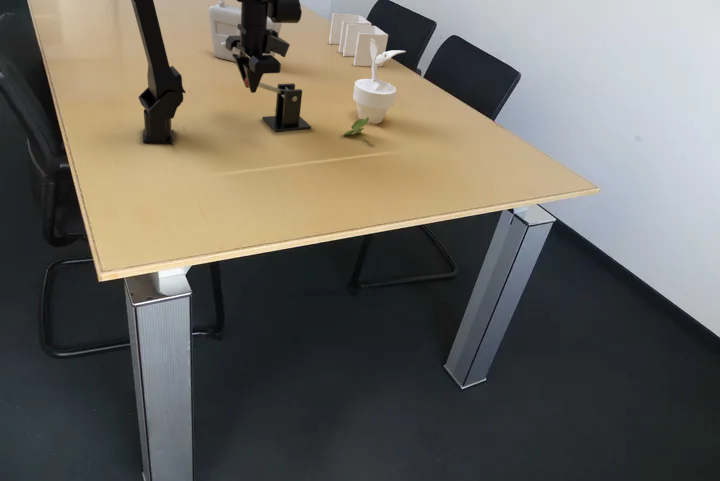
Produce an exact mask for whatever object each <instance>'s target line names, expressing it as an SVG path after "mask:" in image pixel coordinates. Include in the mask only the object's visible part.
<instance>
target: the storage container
mask: <svg viewBox="0 0 720 481" xmlns="http://www.w3.org/2000/svg"><path fill="white" fill-rule="evenodd" d="M329 31H330V32H329V39H328V44H329V45H339V46H338V53H339V54H341V53H342V57H354V58H353V66H354V67H372V63H373V60H372V57H371V53H370V42H371V40H370V39H374V40H375V42H376V44H377V46H378V53H377V56H378V55H380V53H381V52H382V51H383V53H384V52H386V50H387V44H388V41H386V42H385V44H384V47H383V43H382V42H381V40H382V39H383V38H384V35H385V38H386V40H388V39H389V34H388V33H386V32H384V31H383V30H382V29H380V28H379V27H378V26H376V25H372V23H371V22H370V21H369V20H368V19H366V18H364V17H363V16H362V15H360V14H349V13H333V12H332V16H331V25H330V30H329ZM382 49H383V50H382ZM383 66H384V62H383V63H381V64H377V67H383Z"/></svg>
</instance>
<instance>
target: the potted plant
mask: <svg viewBox="0 0 720 481" xmlns="http://www.w3.org/2000/svg"><path fill="white" fill-rule="evenodd" d="M370 40H371V42H370V53H371V57H372V60H373V63H372V66H371V78H359V79H357V80H355V81H354V88H353V94H352V99H353V101H355V104H356V110H357V118H358V120H359V119H364V120H365V119H366V118H367V117H369V120H368V122H367V124H374V125H375V124H376V125H377V124H380V123H381V122H383V119H384V118H385V116H386V114H387V112H388V111H389V110H390V108H391V107H393V106H394V105H395V100H396V95H397V87H395V86H394V85H392V83H389V82H386V81H384V80H381V79H380V78H378V76H379V75H378V66H377V64H381V63H383V64H384V63H385V62H388V61H389V60H390V59H391V58H392V57H394V56H396V55H399V54H403V53H406V52H407V51H406V50H399V49H397V50H396V49H395V50H393V49H392V50H387V51H385V52H384V53H383V51H382V52H381V53H380V55H378V56H377V53H378V46H377V44H376V42H375V40H374V39H370ZM386 41H387V42H388V41H389V40H388V39H387V40H386V38H385V35H384V38H383V39H382V40H381V42H382V43H383V47H384V44H385V42H386ZM382 50H383V49H382Z"/></svg>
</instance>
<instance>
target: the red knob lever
mask: <svg viewBox="0 0 720 481" xmlns="http://www.w3.org/2000/svg"><path fill="white" fill-rule="evenodd" d="M245 85H246V86H247V87H248V88H247V89H250V88H249V84H248V81H247V77H246V78H245V84H244V86H245ZM258 88H261V89H264V90H267V91H270V92H273V93H276V94H277V93H279V94H282V95H281V96H282V97H283V98H284V93H285V90H293V89H290V88H287V87H284V90H283V89H280V88H278V86H277V87H276V86H273V85H271V84H268V83H264V82H262V81H260V83H259V85H258Z"/></svg>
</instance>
